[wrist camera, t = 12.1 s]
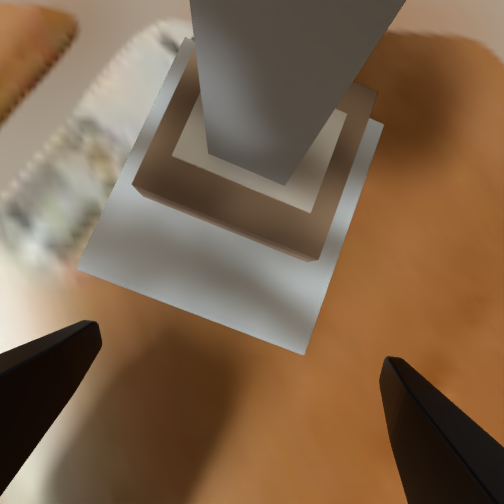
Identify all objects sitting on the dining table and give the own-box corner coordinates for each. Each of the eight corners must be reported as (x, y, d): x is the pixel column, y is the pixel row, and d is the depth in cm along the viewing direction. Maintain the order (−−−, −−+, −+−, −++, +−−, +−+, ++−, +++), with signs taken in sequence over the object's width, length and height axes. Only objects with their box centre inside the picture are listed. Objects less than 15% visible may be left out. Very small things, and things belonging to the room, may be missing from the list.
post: (284, 186, 17) (467, -95, 4) (208, 153, 17) (159, -251, 4) (312, 115, 18) (544, -313, 5) (239, 83, 18) (282, -460, 5)
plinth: (300, 352, 20) (317, 368, 16) (81, 269, 19) (49, 267, 15) (378, 130, 22) (407, 102, 19) (186, 46, 21) (179, 0, 18)
